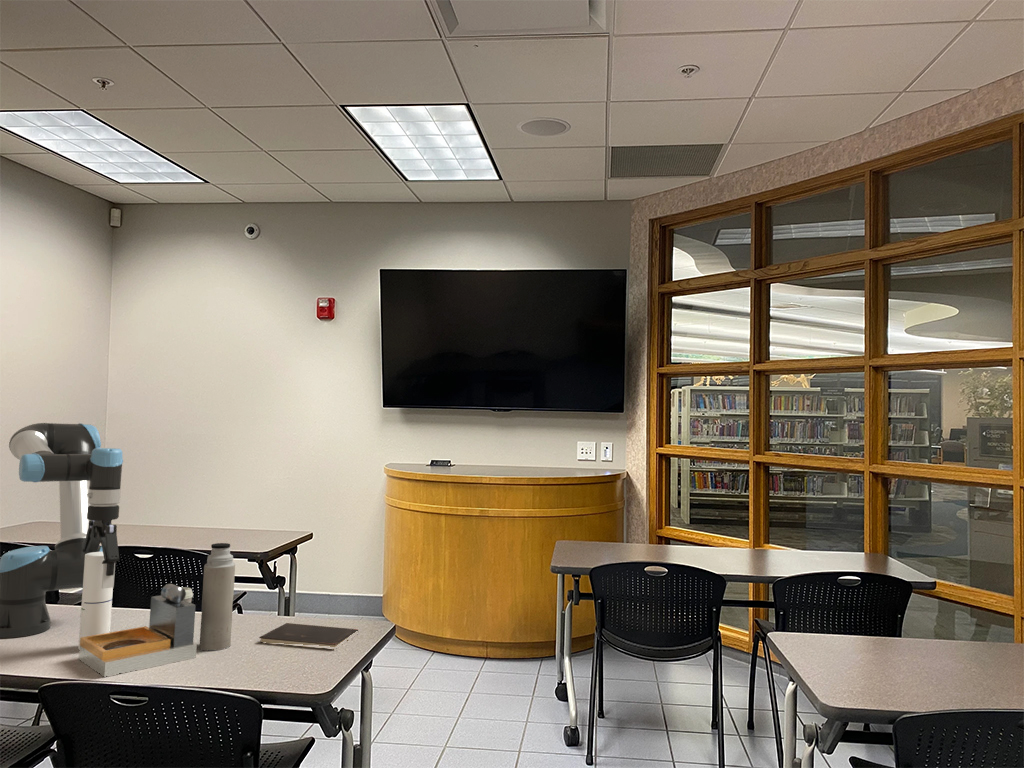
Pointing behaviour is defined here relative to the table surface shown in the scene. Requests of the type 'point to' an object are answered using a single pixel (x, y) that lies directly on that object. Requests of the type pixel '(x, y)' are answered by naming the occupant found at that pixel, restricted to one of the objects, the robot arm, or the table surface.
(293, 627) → the hardcover book
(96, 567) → the cylindrical container
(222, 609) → the thermos bottle
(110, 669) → the grey stand with tray
